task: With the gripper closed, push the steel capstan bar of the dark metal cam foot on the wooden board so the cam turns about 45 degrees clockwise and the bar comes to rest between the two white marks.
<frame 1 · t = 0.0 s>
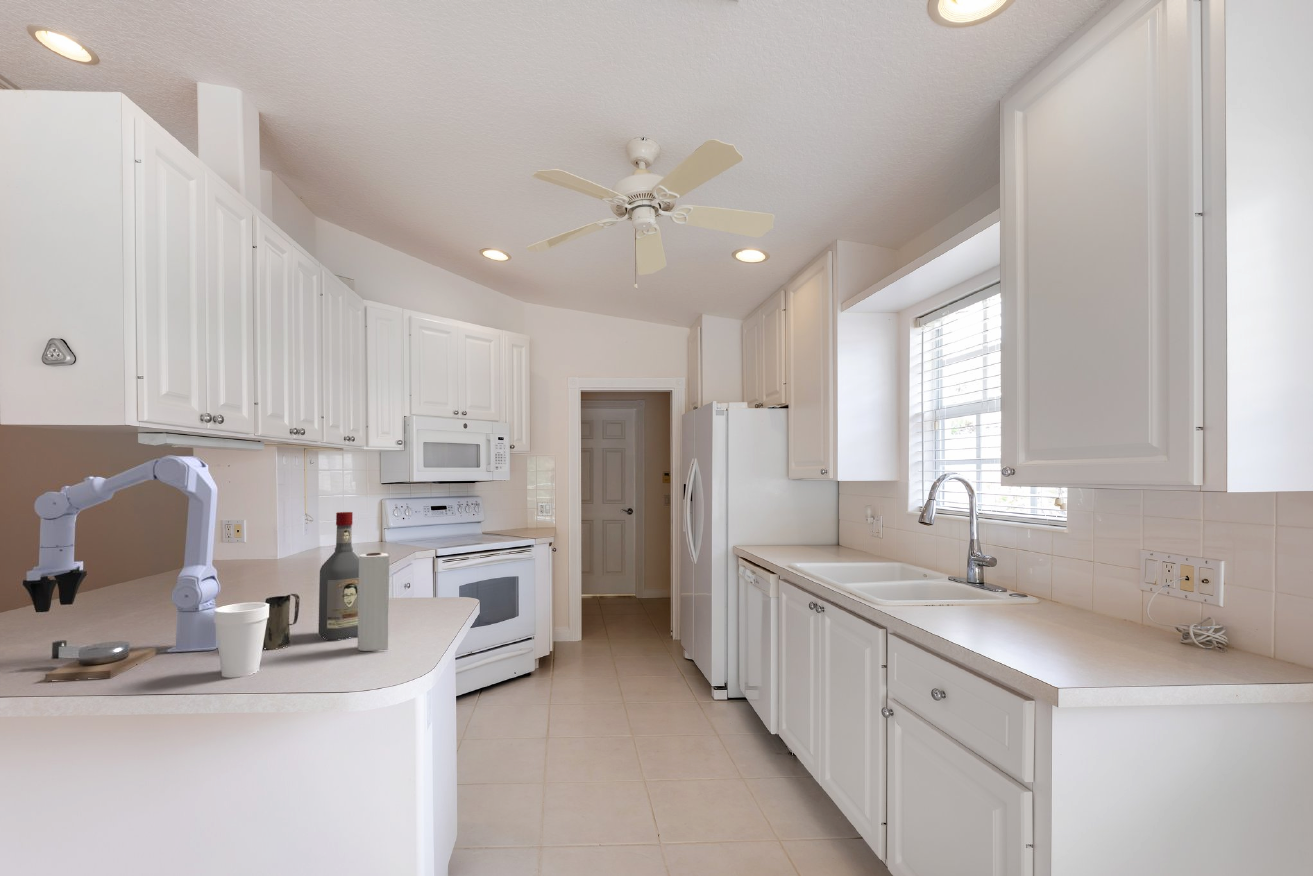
hand: (54, 608, 144), 10 cm above the countertop, tool pointing down, fingers open, 7 cm apart
paper towel roll: (372, 649, 148), on the countertop
foam cup: (240, 673, 131), on the countertop
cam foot: (88, 650, 135), point 3 cm above the countertop, hinge at 0.0°
liquor: (342, 636, 160), on the countertop
mug: (280, 647, 150), on the countertop
wooden board: (104, 667, 135), on the countertop
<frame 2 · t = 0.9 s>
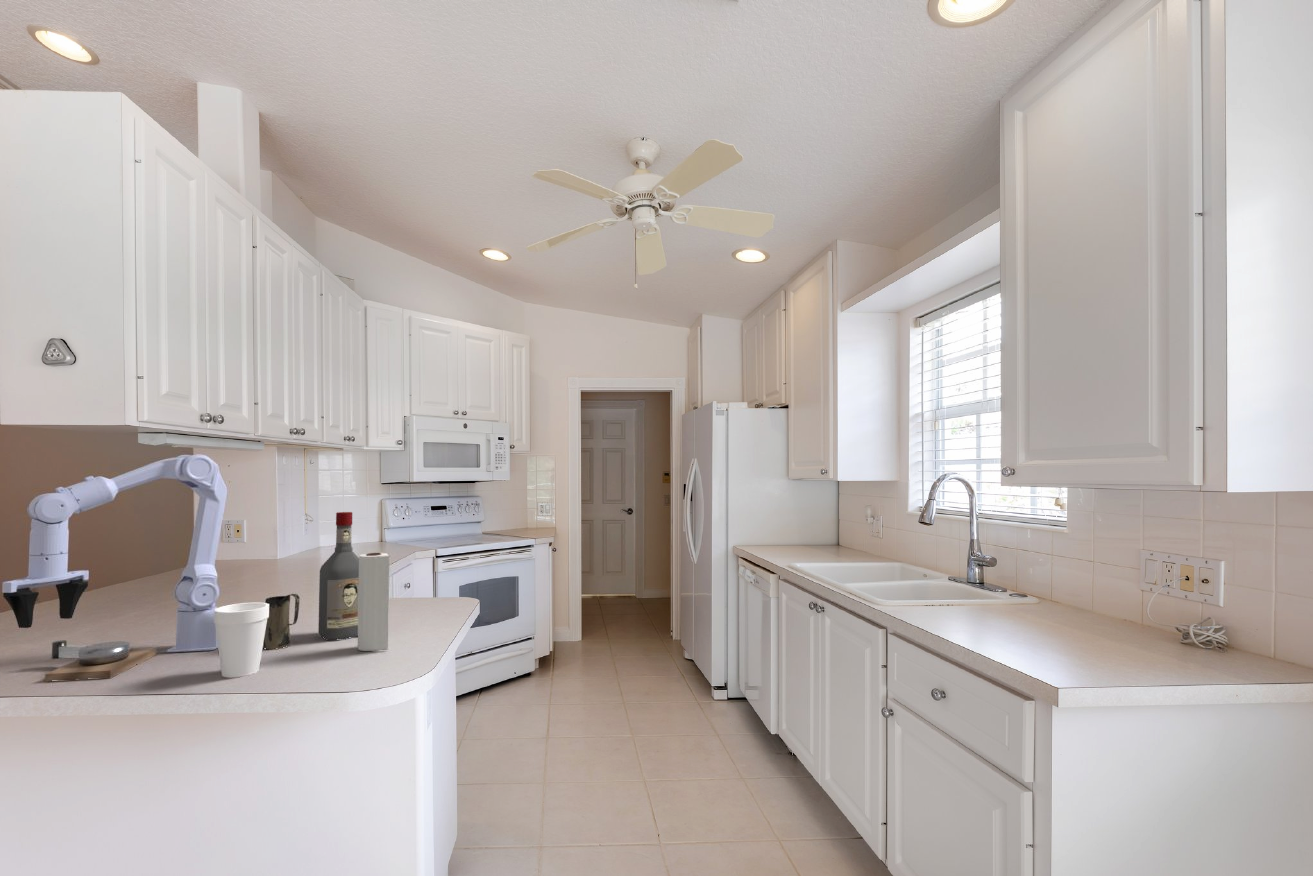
hand: (46, 622, 130), 10 cm above the countertop, tool pointing down, fingers open, 7 cm apart
nothing on the countertop moved.
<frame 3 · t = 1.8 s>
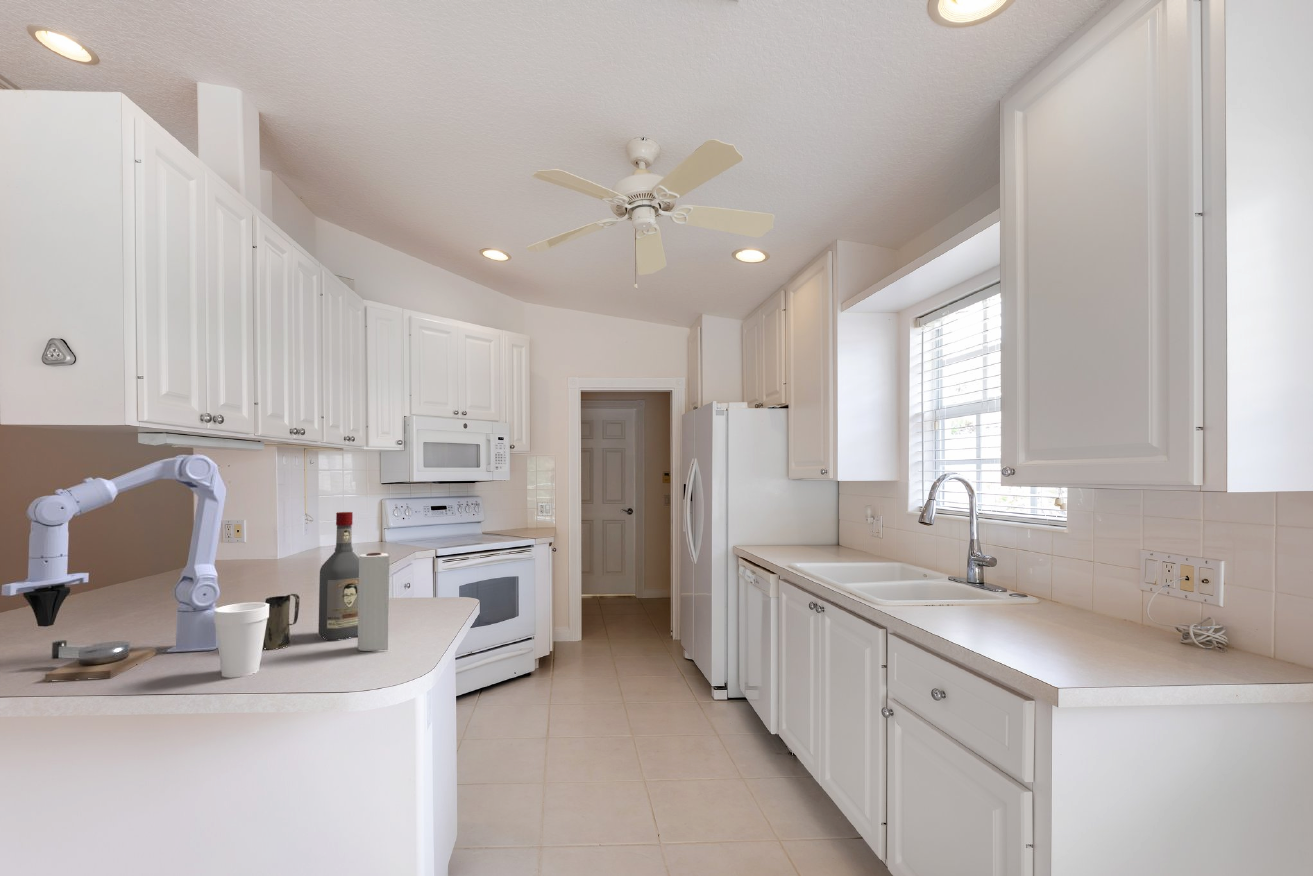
hand: (45, 625, 129), 10 cm above the countertop, tool pointing down, fingers closed
nothing on the countertop moved.
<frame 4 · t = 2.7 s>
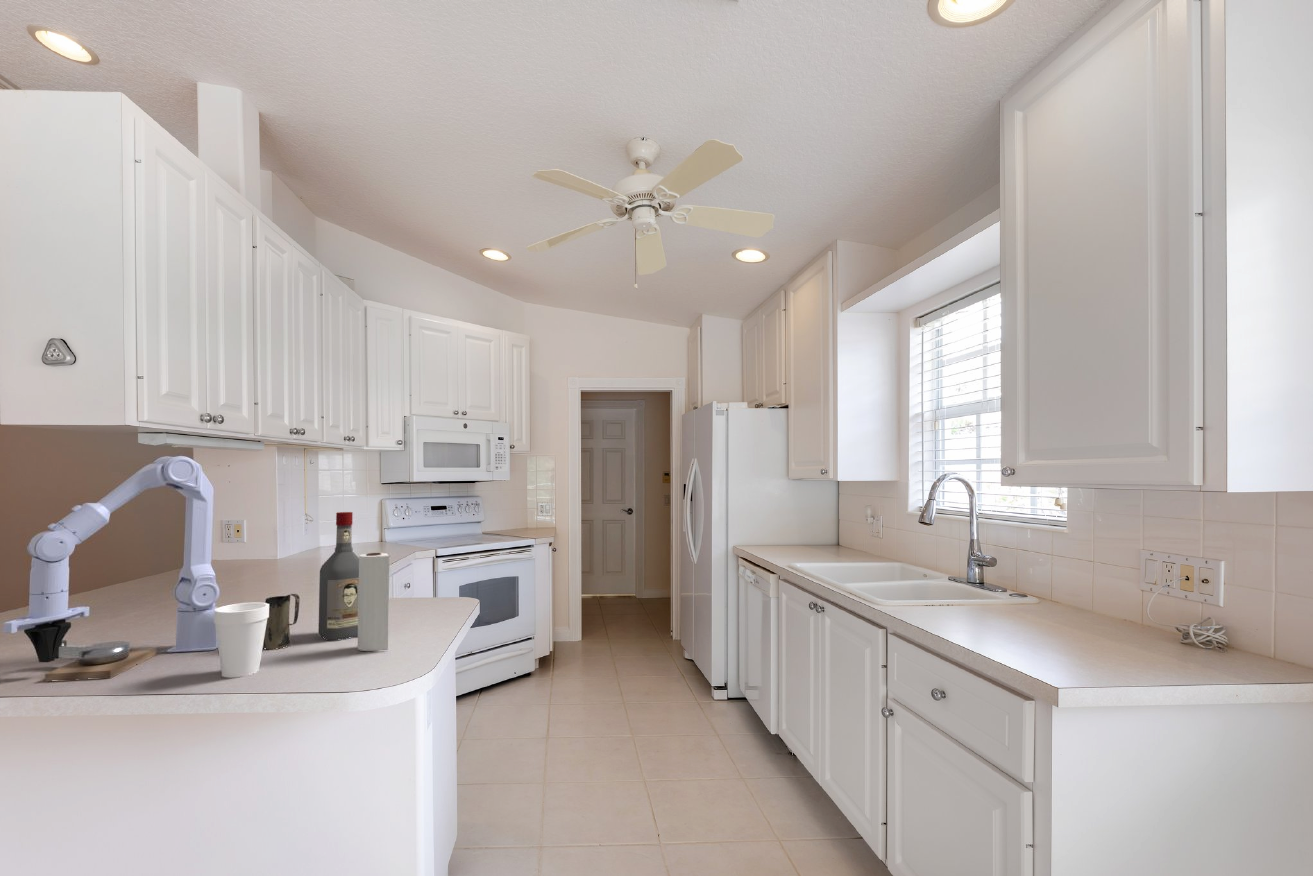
hand: (46, 661, 129), 3 cm above the countertop, tool pointing down, fingers closed
nothing on the countertop moved.
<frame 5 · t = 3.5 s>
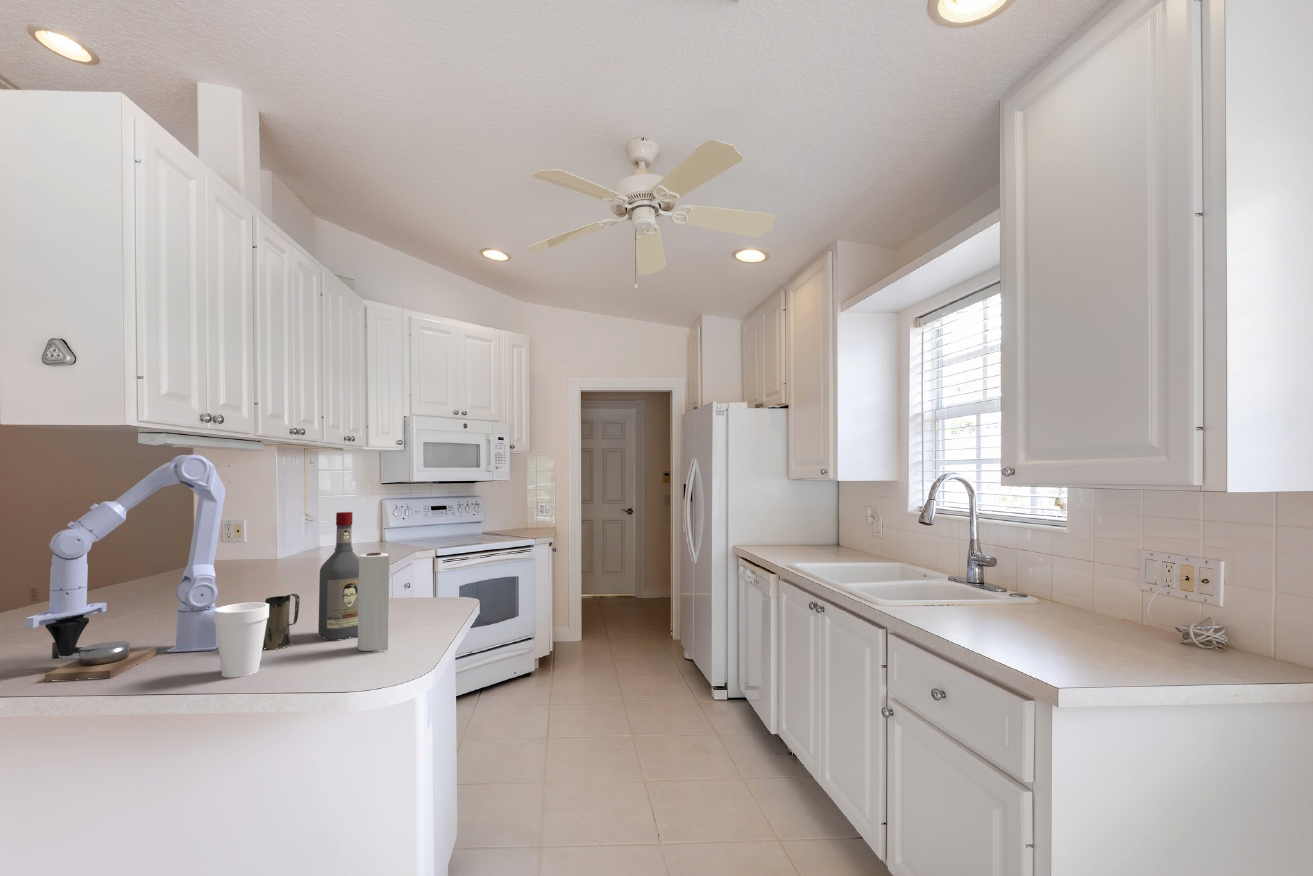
hand: (66, 655, 133), 3 cm above the countertop, tool pointing down, fingers closed
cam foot: (88, 650, 135), point 3 cm above the countertop, hinge at -0.1°, touching gripper
everything else where it was.
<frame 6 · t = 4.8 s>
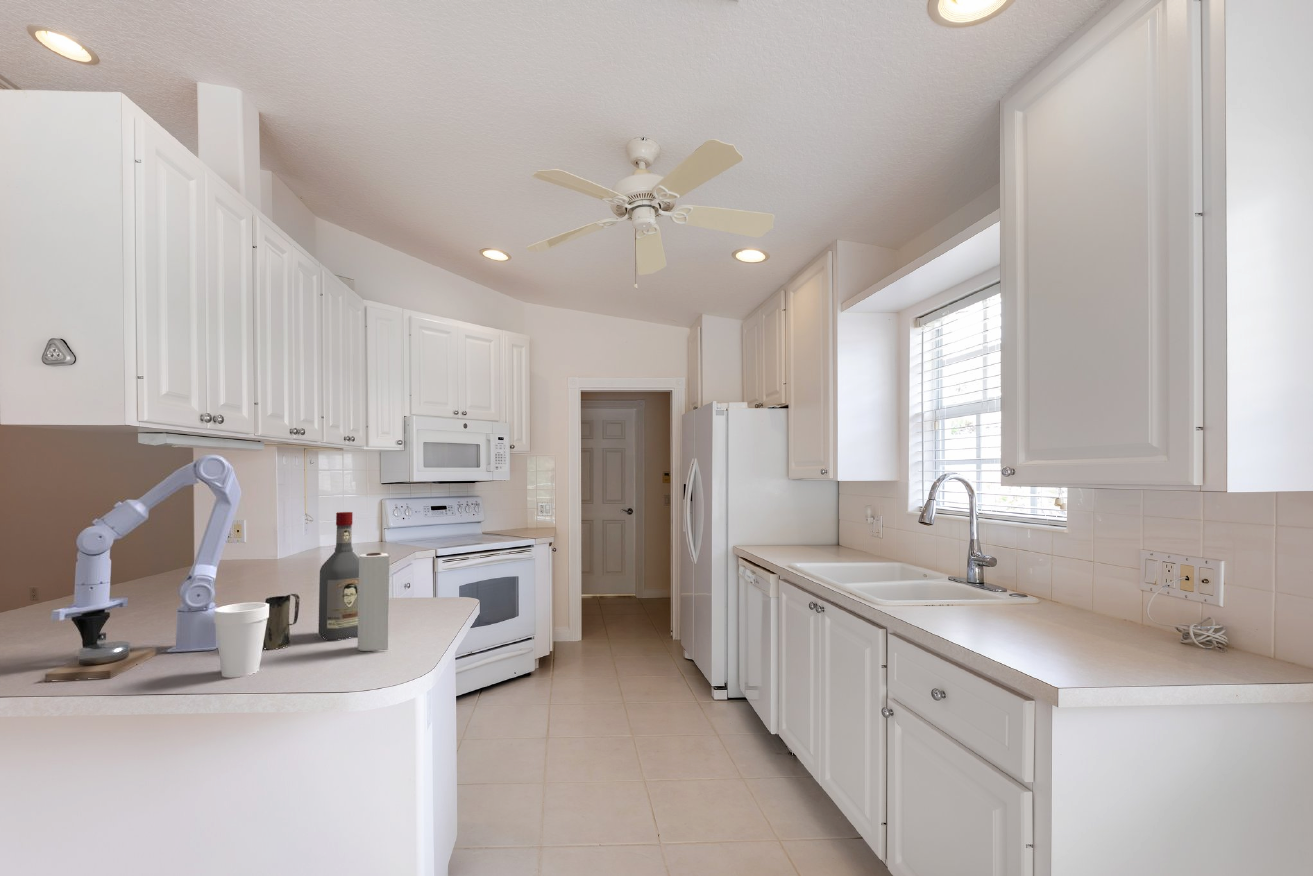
hand: (89, 648, 138), 3 cm above the countertop, tool pointing down, fingers closed, pressing on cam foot
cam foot: (102, 647, 137), point 3 cm above the countertop, hinge at -41.1°, touching gripper
everything else where it was.
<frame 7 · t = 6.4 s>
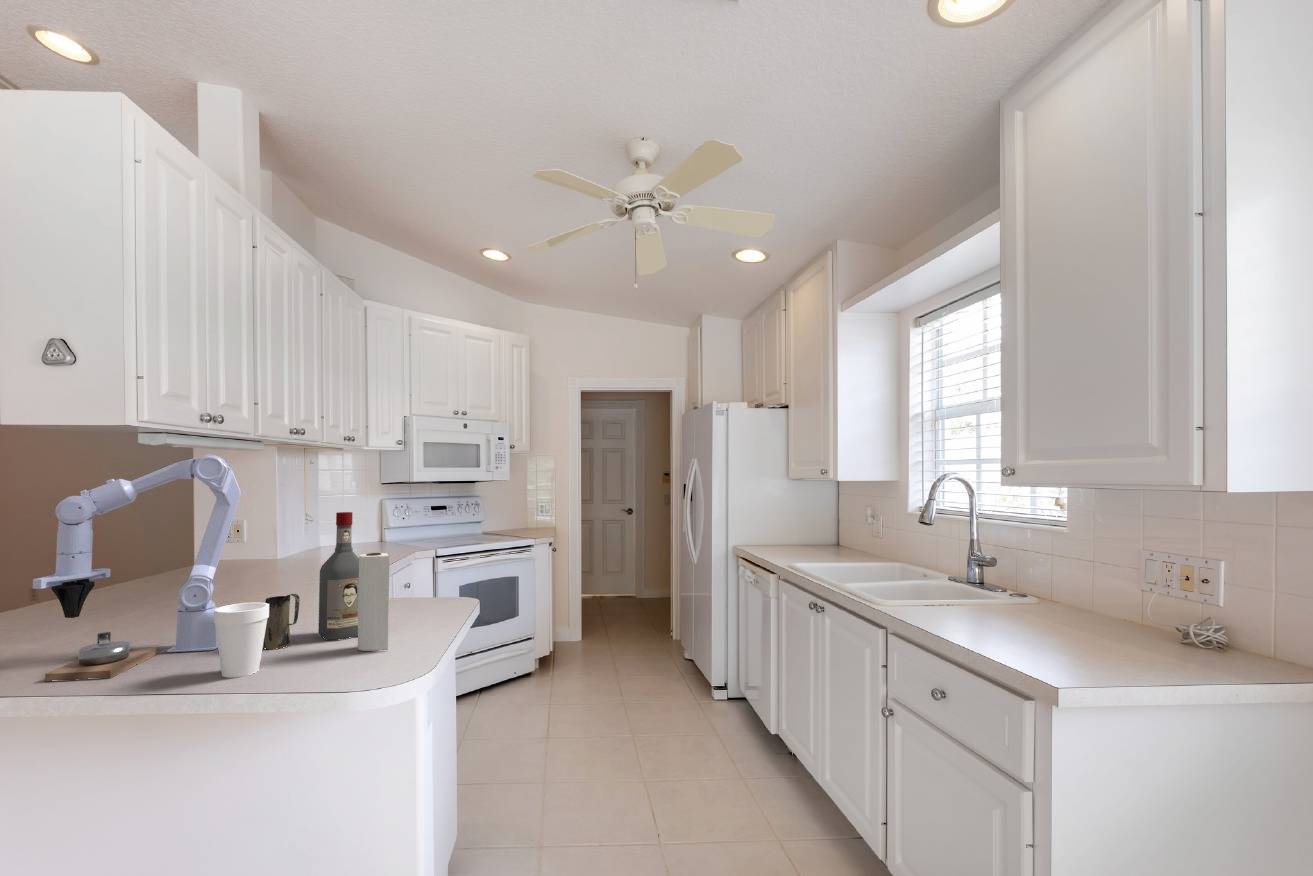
hand: (72, 617, 139), 9 cm above the countertop, tool pointing down, fingers closed
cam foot: (104, 647, 137), point 3 cm above the countertop, hinge at -45.4°
everything else where it was.
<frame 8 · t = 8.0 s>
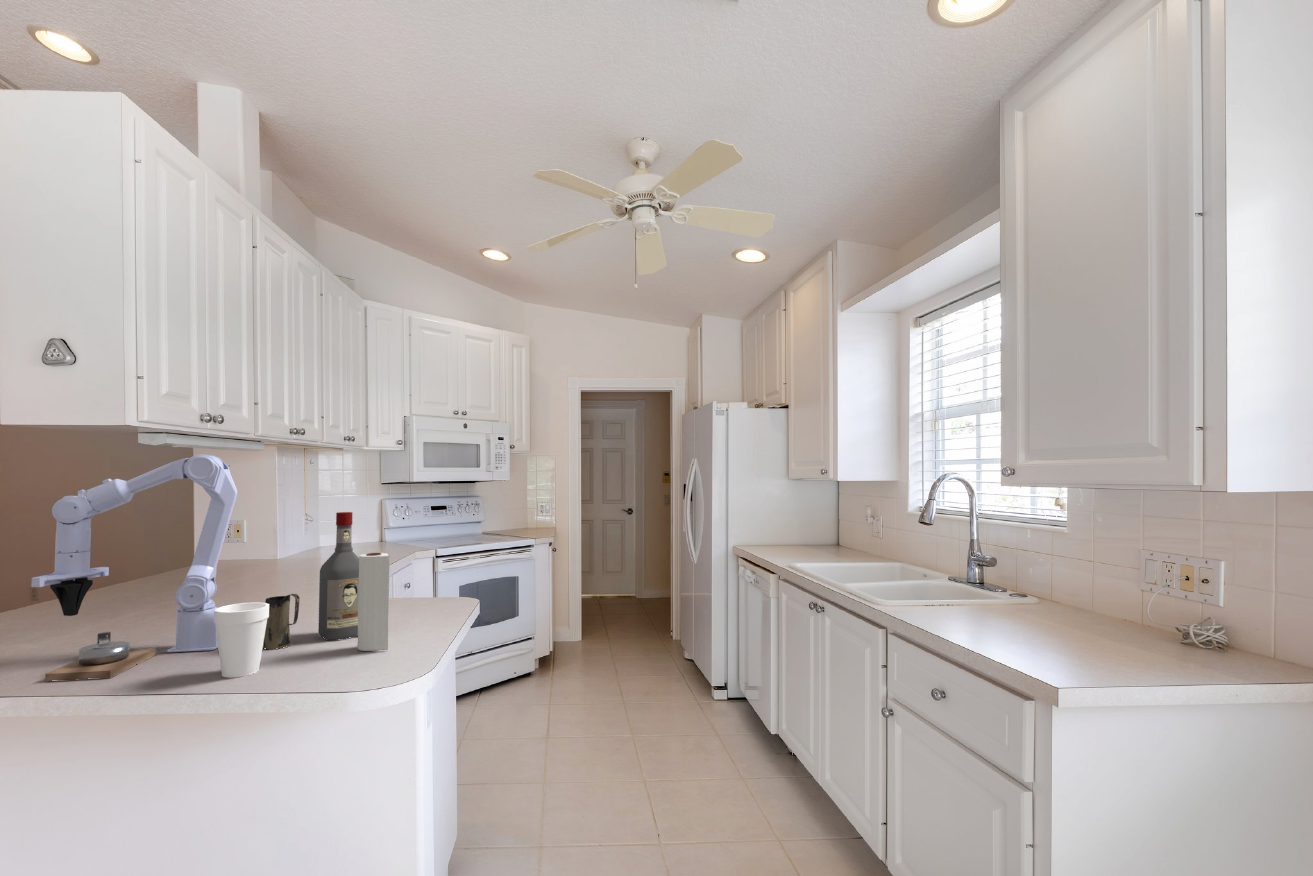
hand: (70, 615, 141), 9 cm above the countertop, tool pointing down, fingers closed
nothing on the countertop moved.
at the end: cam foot at -45° (first picture: +0°) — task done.
